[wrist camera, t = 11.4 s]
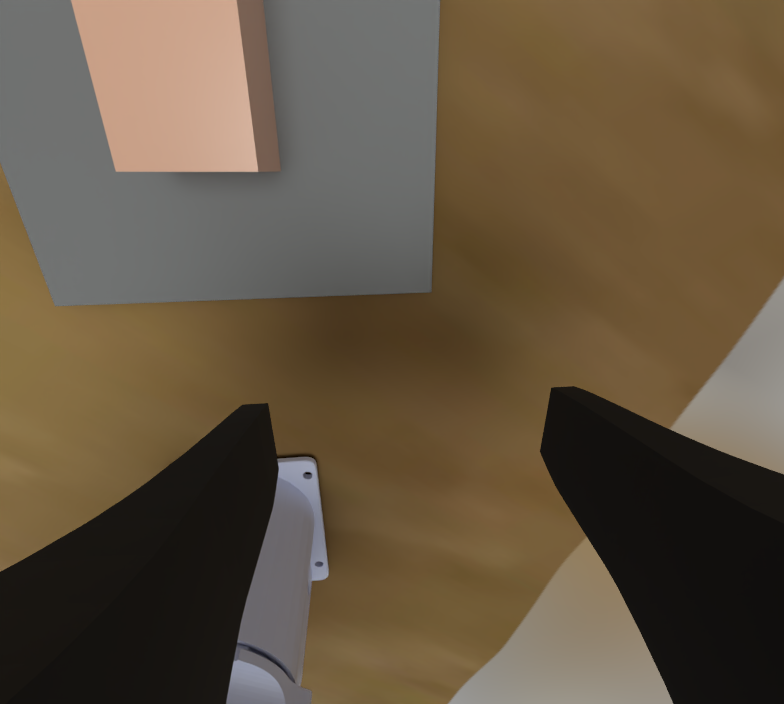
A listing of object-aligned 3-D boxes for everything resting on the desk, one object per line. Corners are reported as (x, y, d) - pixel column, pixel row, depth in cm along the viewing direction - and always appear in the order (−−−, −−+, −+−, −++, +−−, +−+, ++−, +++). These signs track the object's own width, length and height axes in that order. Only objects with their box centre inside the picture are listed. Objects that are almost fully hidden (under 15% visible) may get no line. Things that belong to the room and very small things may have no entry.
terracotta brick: (280, 171, 15) (258, 172, 12) (173, 171, 15) (115, 171, 11) (259, -33, 13) (222, -112, 9) (129, -38, 13) (38, -123, 9)
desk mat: (429, 288, 18) (431, 292, 18) (64, 301, 17) (54, 306, 17) (443, -239, 12) (447, -259, 11) (-149, -276, 11) (-176, -299, 10)
